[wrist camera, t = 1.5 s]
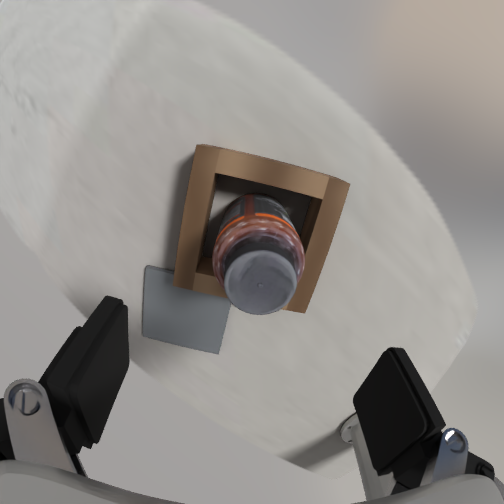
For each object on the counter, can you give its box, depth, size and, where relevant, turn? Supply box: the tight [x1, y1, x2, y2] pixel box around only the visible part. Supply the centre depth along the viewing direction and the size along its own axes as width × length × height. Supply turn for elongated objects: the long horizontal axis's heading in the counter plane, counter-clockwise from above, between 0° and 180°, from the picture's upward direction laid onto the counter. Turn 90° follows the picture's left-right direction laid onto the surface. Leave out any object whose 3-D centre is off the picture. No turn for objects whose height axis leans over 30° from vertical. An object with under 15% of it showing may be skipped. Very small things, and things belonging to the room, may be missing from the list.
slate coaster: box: [143, 265, 231, 354], centre depth 29 cm, size 9×9×1 cm
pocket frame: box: [173, 144, 350, 313], centre depth 24 cm, size 12×12×4 cm
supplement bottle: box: [212, 193, 305, 315], centre depth 20 cm, size 6×6×11 cm
